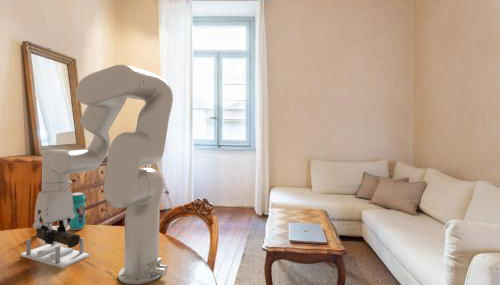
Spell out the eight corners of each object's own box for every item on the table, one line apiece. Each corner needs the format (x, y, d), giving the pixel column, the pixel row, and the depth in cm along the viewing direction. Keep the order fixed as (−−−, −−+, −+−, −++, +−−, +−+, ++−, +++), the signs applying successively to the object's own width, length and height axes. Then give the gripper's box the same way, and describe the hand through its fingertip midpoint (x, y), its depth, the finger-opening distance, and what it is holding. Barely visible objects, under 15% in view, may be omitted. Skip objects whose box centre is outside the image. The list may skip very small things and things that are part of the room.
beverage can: (76, 231, 117) (76, 195, 116) (65, 229, 119) (66, 194, 118) (88, 227, 122) (88, 192, 122) (78, 225, 124) (78, 191, 124)
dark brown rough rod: (80, 245, 92) (80, 231, 92) (68, 249, 88) (68, 234, 88) (45, 234, 100) (45, 221, 100) (32, 238, 96) (33, 225, 96)
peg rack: (89, 256, 95) (89, 239, 94) (62, 268, 86) (62, 249, 86) (49, 245, 102) (49, 230, 102) (20, 256, 93) (20, 238, 93)
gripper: (71, 181, 102) (70, 231, 103) (20, 189, 87) (20, 248, 88) (86, 183, 100) (85, 235, 100) (36, 192, 84) (36, 253, 85)
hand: (55, 240), depth 94 cm, fingers closed on dark brown rough rod, 3 cm apart
